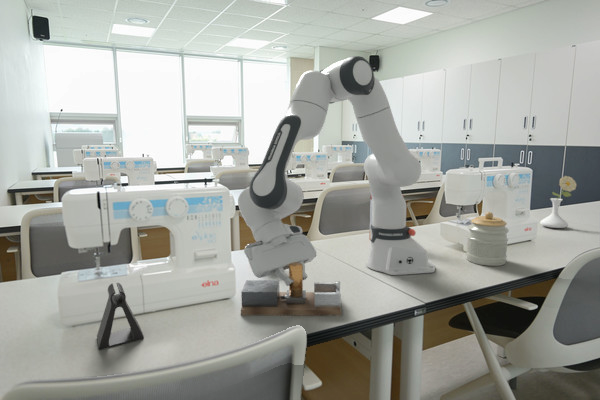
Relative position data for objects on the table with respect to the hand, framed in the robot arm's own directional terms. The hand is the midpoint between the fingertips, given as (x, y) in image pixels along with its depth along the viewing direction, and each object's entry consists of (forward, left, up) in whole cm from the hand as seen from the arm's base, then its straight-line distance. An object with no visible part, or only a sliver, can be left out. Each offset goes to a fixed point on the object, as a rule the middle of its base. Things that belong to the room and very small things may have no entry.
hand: (297, 281), depth 101 cm
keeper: (-8, 0, -5) cm, 9 cm away
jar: (-66, -38, -7) cm, 77 cm away
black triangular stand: (+39, +17, -7) cm, 43 cm away
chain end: (+6, 0, -5) cm, 8 cm away
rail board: (+2, 0, -7) cm, 7 cm away
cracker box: (-35, -62, -7) cm, 72 cm away
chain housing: (+10, 0, -5) cm, 11 cm away
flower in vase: (-122, -89, -7) cm, 151 cm away
